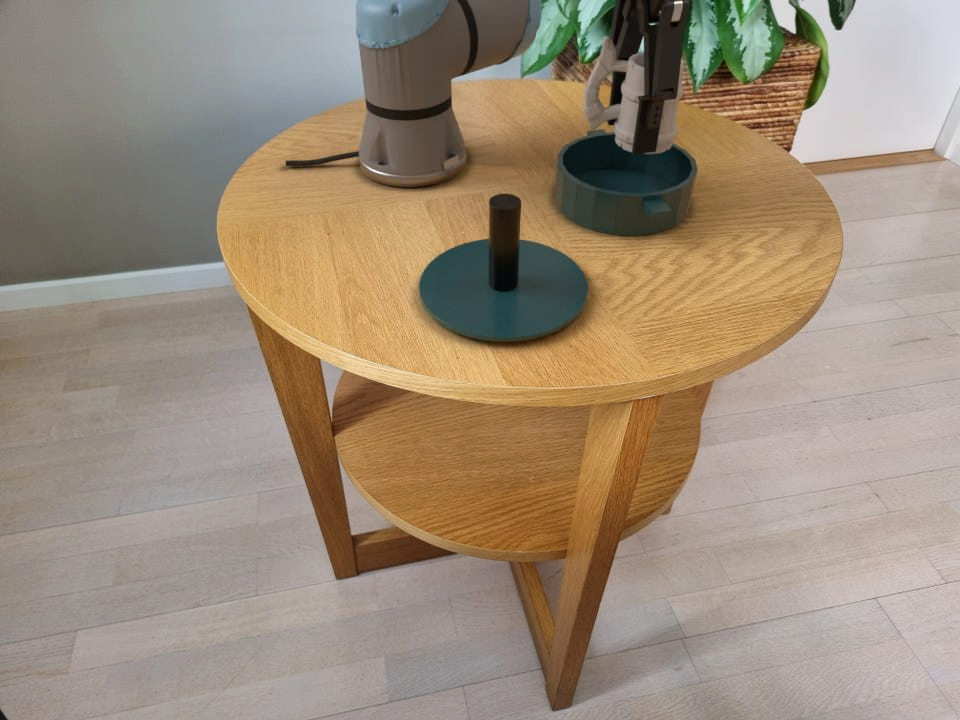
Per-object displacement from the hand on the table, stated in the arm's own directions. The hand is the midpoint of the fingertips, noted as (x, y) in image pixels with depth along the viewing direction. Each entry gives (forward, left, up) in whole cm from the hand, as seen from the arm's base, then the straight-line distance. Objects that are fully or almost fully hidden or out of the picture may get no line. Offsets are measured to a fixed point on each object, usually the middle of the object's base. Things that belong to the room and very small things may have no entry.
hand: (630, 136), depth 86 cm
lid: (-20, -16, -8) cm, 27 cm away
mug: (0, +1, -1) cm, 1 cm away
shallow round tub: (0, 0, -9) cm, 9 cm away
